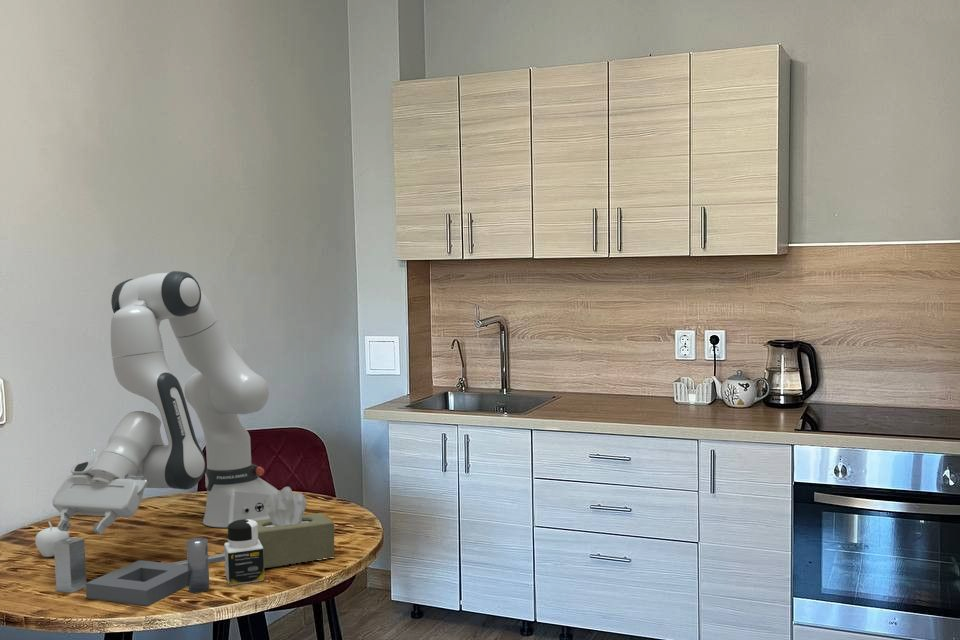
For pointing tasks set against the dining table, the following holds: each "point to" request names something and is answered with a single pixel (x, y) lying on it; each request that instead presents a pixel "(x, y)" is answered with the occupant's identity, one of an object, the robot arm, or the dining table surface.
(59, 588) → the square bit
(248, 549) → the medicine bottle
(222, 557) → the adjustable wrench
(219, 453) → the robot arm
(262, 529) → the tissue box
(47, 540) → the plain white apple
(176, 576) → the socket block
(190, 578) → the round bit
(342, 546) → the dining table surface
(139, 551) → the dining table surface
